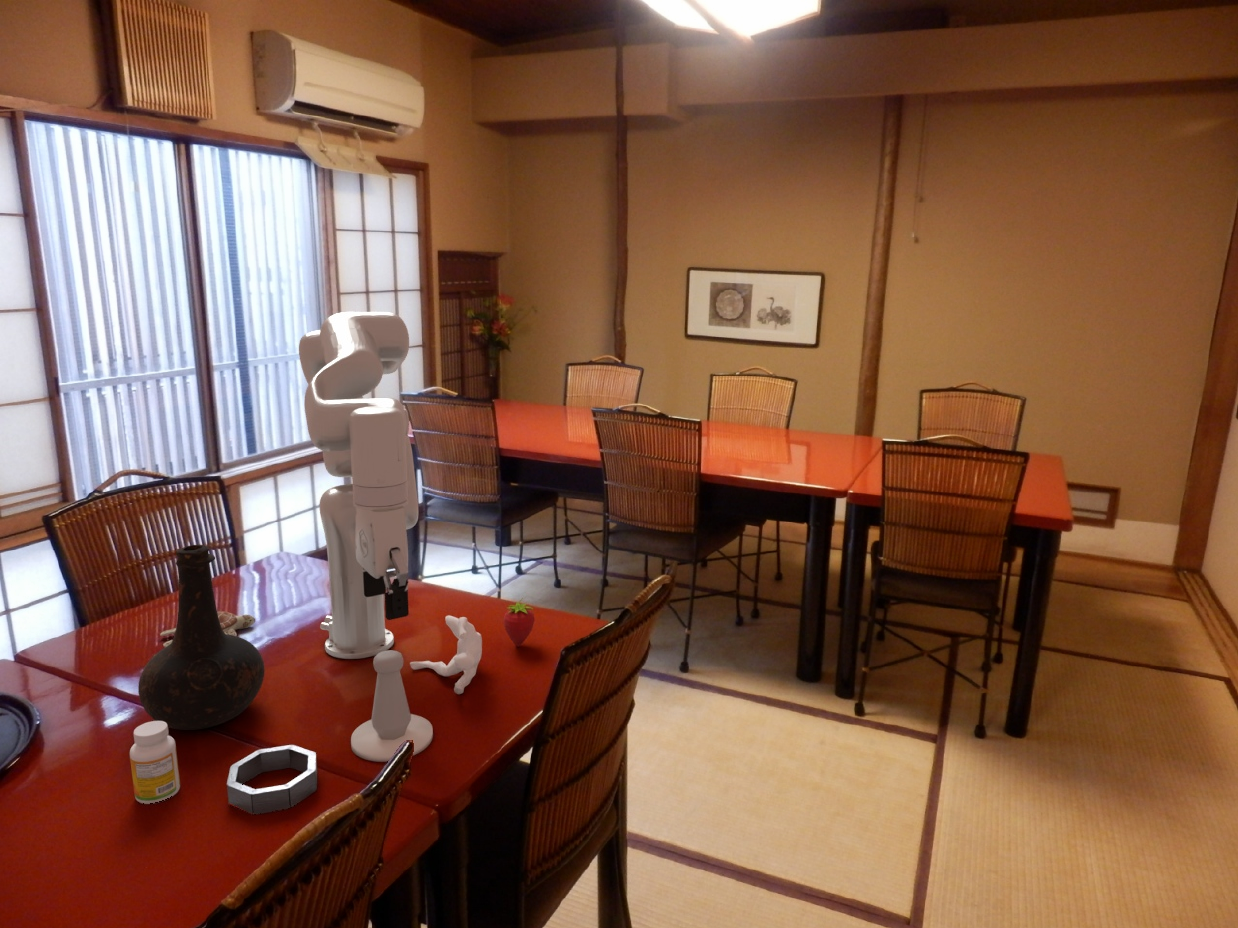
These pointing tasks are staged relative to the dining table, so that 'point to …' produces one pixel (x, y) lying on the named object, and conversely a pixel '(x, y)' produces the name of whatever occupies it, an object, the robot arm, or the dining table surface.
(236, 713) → the glass bottle
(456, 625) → the person figurine
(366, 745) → the ceramic coaster
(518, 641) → the strawberry
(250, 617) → the decorative turtle
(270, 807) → the metal ring
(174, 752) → the supplement bottle
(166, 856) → the dining table surface
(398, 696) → the salt shaker
